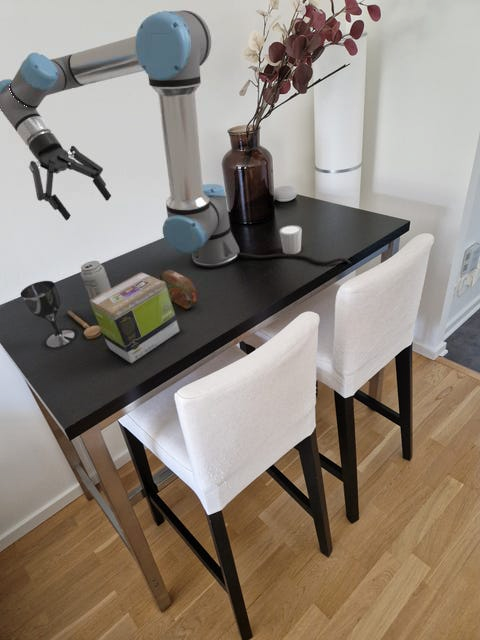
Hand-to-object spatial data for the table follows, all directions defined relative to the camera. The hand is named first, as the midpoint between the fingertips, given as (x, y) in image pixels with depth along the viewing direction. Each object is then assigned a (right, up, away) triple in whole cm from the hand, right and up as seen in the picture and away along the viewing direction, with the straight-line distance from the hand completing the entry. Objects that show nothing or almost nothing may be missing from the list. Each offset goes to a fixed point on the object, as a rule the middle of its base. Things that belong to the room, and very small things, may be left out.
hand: (89, 208), depth 118 cm
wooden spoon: (0, -32, -3) cm, 33 cm away
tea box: (+18, -36, -13) cm, 42 cm away
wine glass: (-5, -36, -7) cm, 37 cm away
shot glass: (+58, -9, +17) cm, 61 cm away
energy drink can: (+5, -29, 0) cm, 30 cm away
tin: (+25, -26, 0) cm, 36 cm away
